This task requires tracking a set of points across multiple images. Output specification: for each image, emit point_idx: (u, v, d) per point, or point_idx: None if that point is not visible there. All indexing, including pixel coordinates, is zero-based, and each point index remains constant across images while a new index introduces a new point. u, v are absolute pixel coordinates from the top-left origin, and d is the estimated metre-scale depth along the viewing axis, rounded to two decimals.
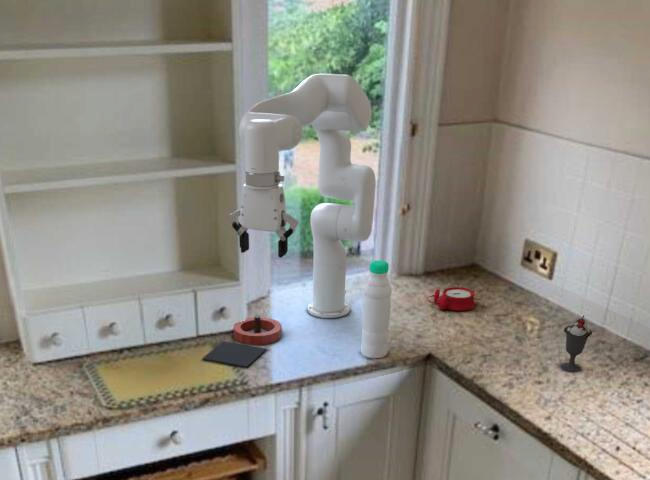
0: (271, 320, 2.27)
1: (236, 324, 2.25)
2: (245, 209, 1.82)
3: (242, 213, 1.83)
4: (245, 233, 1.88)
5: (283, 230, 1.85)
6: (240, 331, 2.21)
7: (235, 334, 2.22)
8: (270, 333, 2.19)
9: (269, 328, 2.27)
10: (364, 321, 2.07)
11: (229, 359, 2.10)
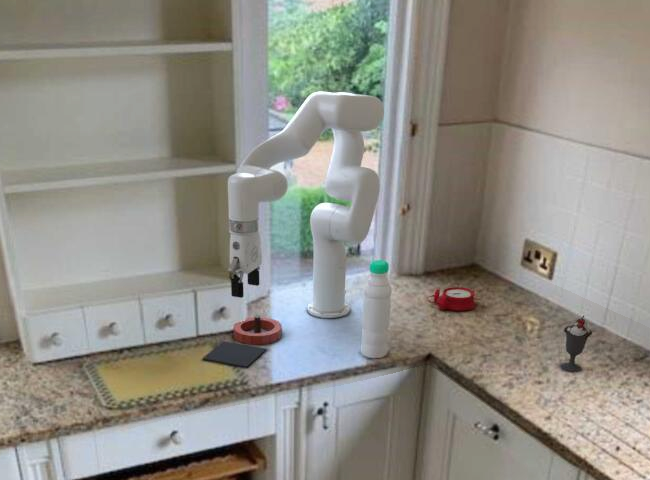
0: (271, 320, 2.27)
1: (236, 324, 2.25)
2: None
3: None
4: (253, 269, 2.11)
5: None
6: (240, 331, 2.21)
7: (235, 334, 2.22)
8: (270, 333, 2.19)
9: (269, 328, 2.27)
10: (364, 321, 2.07)
11: (229, 359, 2.10)
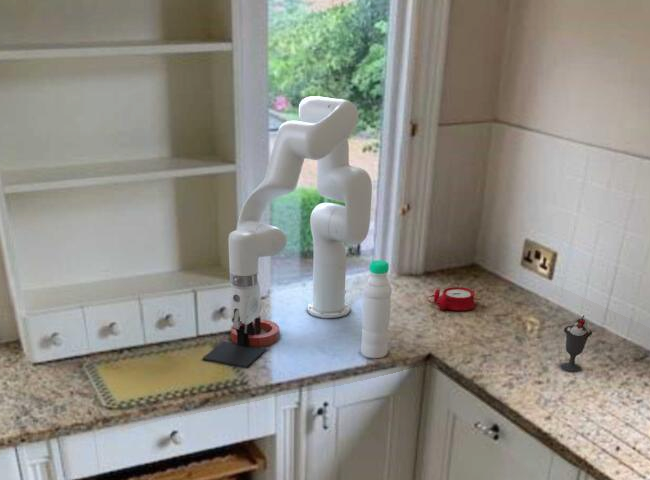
0: (269, 322, 2.26)
1: None
2: None
3: None
4: (248, 326, 2.18)
5: None
6: None
7: (232, 336, 2.20)
8: (267, 335, 2.18)
9: (267, 330, 2.26)
10: (364, 321, 2.07)
11: (229, 359, 2.10)
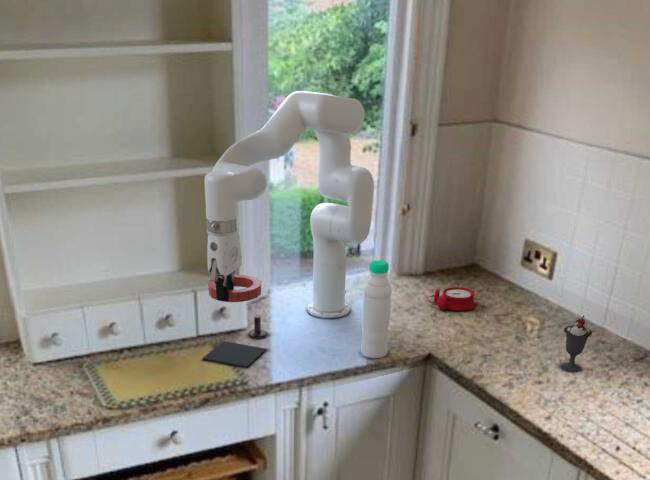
0: (250, 277, 2.08)
1: (212, 281, 2.06)
2: None
3: None
4: (227, 280, 2.00)
5: None
6: (215, 287, 2.02)
7: (210, 291, 2.03)
8: (248, 290, 2.00)
9: (248, 286, 2.08)
10: (364, 321, 2.07)
11: (229, 359, 2.10)
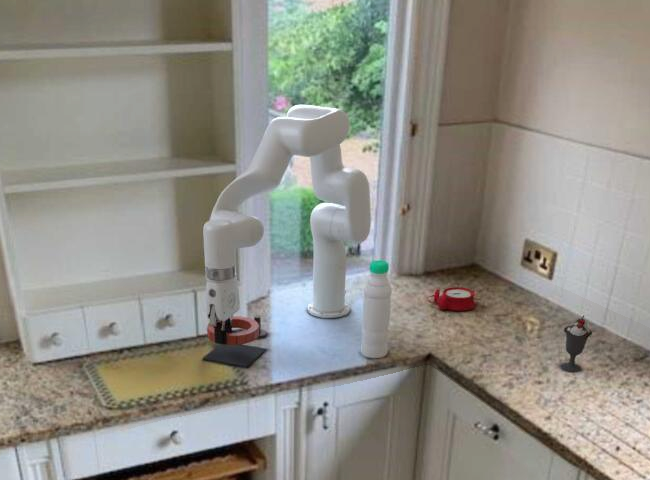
0: (248, 319, 2.12)
1: None
2: None
3: None
4: (225, 324, 2.04)
5: None
6: None
7: (209, 334, 2.07)
8: (246, 333, 2.04)
9: (246, 328, 2.13)
10: (364, 321, 2.07)
11: (229, 359, 2.10)
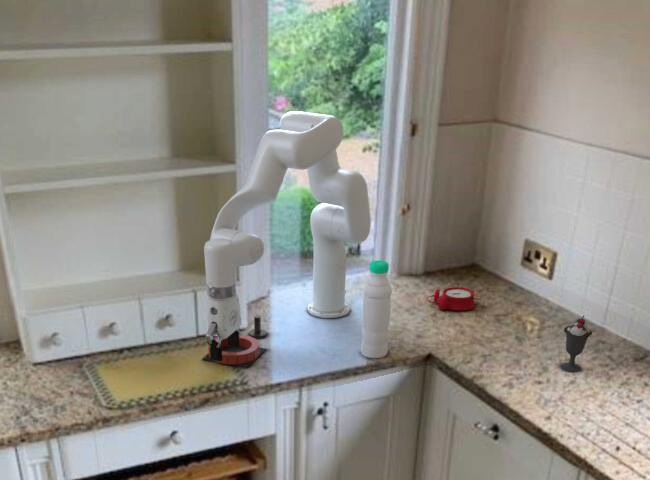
0: (249, 338, 2.15)
1: None
2: None
3: None
4: None
5: None
6: None
7: None
8: (247, 352, 2.07)
9: (246, 346, 2.15)
10: (364, 321, 2.07)
11: None
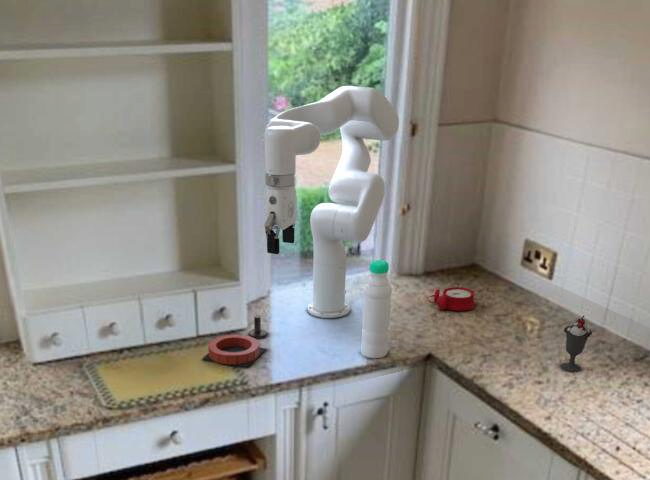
0: (249, 338, 2.15)
1: (211, 342, 2.13)
2: None
3: None
4: (288, 226, 2.08)
5: None
6: (215, 349, 2.09)
7: (210, 353, 2.10)
8: (247, 352, 2.07)
9: (246, 346, 2.15)
10: (364, 321, 2.07)
11: None
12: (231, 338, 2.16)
